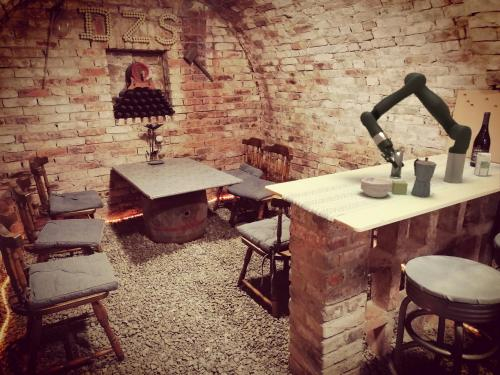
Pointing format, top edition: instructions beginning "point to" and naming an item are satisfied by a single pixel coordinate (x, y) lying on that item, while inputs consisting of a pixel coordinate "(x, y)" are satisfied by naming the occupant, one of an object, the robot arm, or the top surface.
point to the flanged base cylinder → (398, 159)
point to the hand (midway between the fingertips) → (399, 167)
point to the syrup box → (482, 164)
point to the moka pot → (423, 177)
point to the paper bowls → (376, 186)
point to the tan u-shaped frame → (399, 187)
